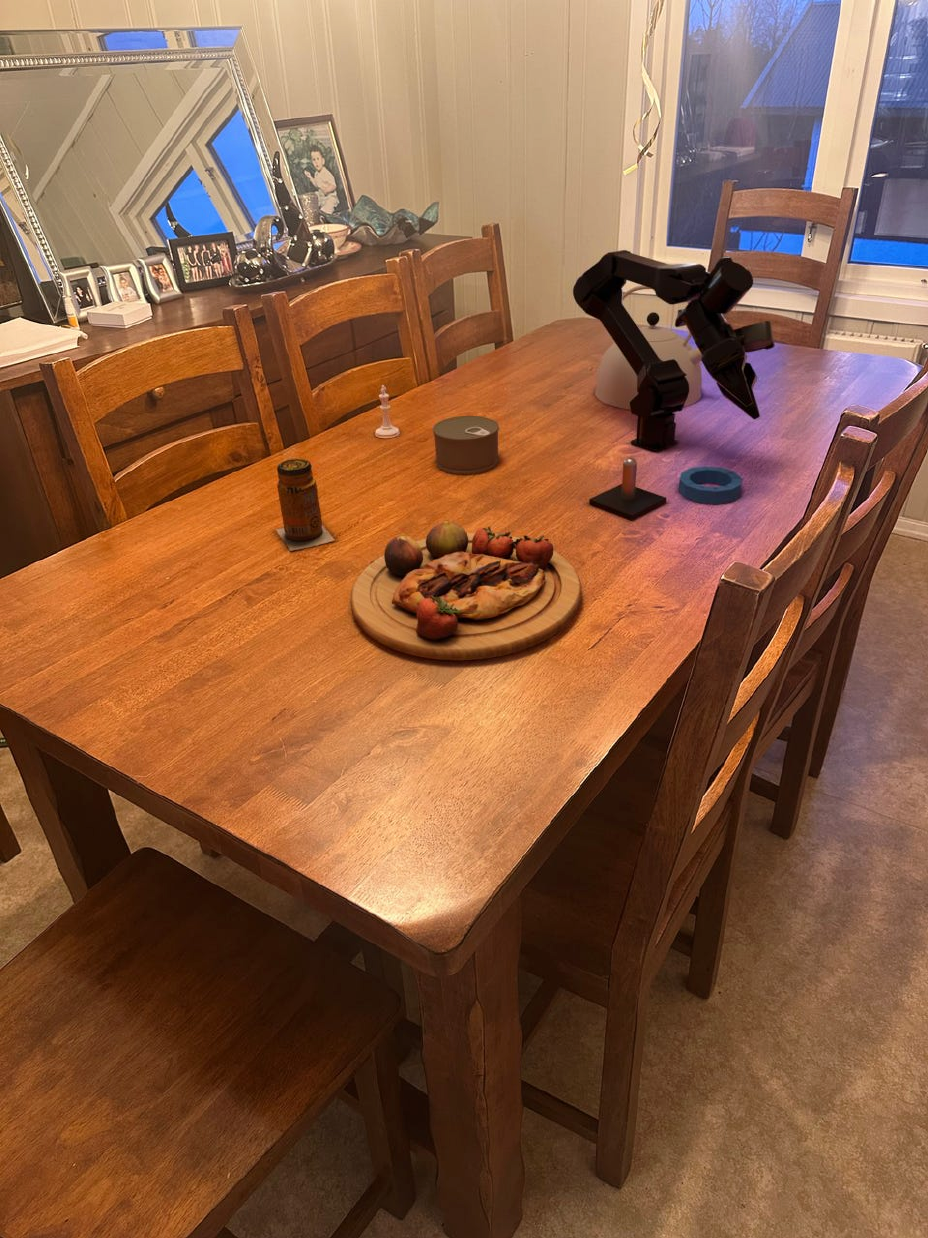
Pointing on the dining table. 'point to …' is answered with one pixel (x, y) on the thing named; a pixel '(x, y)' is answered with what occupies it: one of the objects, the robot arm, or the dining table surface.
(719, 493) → the blue ring
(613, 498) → the peg stand
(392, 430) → the chess piece
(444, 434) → the can
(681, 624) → the dining table surface
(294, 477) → the condiment
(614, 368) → the kettle
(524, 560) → the wooden plate
